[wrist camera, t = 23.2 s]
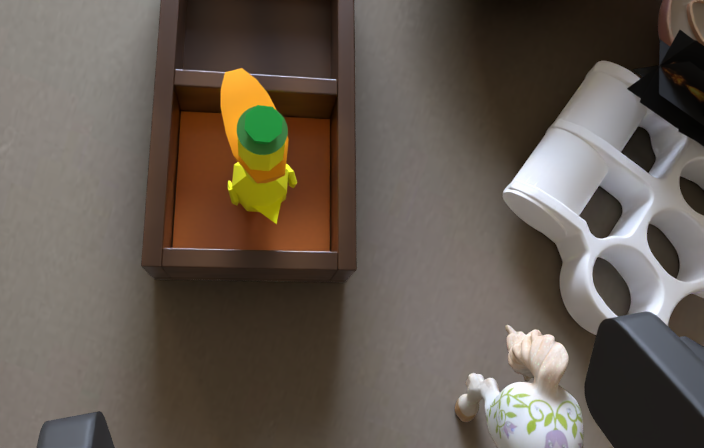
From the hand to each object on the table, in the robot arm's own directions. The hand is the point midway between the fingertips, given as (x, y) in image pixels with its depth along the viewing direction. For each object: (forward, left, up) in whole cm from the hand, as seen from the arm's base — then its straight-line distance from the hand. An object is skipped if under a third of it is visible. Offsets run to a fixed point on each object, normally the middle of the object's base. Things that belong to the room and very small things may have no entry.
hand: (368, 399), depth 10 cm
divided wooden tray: (-2, +16, -27) cm, 31 cm away
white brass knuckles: (+22, +11, -27) cm, 37 cm away
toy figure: (-2, +11, -26) cm, 28 cm away
